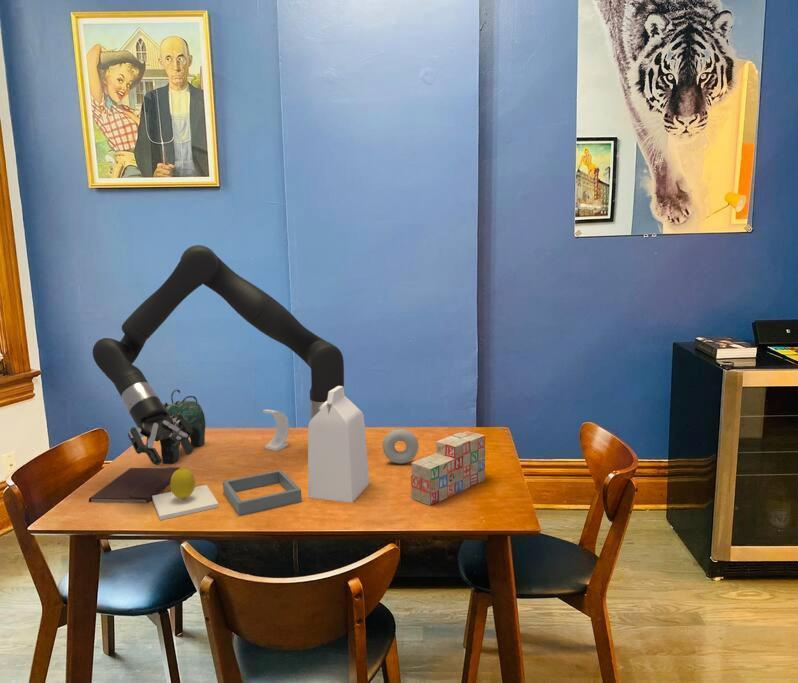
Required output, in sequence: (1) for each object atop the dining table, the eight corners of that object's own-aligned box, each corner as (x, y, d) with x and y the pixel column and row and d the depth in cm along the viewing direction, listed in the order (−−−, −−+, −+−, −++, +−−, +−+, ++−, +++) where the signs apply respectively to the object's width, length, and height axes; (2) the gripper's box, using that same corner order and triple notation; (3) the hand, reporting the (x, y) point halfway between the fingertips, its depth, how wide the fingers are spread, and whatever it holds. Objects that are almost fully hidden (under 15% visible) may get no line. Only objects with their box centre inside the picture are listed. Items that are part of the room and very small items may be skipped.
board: (206, 488, 155) (206, 484, 155) (218, 507, 144) (218, 503, 144) (152, 499, 149) (151, 495, 149) (160, 520, 138) (159, 516, 138)
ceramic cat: (172, 466, 171) (167, 397, 168) (152, 465, 173) (146, 396, 169) (210, 443, 190) (206, 380, 187) (192, 442, 192) (187, 380, 188)
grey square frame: (281, 480, 159) (281, 469, 159) (301, 501, 146) (301, 489, 146) (223, 492, 152) (222, 481, 152) (239, 515, 139) (238, 503, 139)
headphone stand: (265, 448, 184) (262, 410, 182) (278, 442, 190) (276, 405, 188) (276, 451, 182) (274, 412, 180) (290, 445, 187) (288, 407, 185)
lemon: (188, 505, 143) (185, 472, 142) (166, 503, 144) (164, 471, 143) (200, 495, 148) (198, 464, 147) (179, 494, 150) (177, 462, 148)
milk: (352, 502, 145) (349, 396, 141) (308, 497, 149) (303, 393, 144) (369, 483, 157) (366, 384, 152) (327, 478, 160) (324, 382, 156)
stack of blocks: (430, 506, 143) (430, 456, 141) (410, 499, 147) (410, 450, 145) (485, 480, 158) (485, 434, 156) (466, 474, 162) (466, 429, 160)
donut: (382, 465, 169) (381, 430, 167) (383, 461, 172) (382, 427, 170) (418, 465, 168) (418, 430, 167) (418, 461, 172) (418, 426, 170)
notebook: (88, 504, 148) (88, 496, 148) (129, 473, 168) (129, 466, 167) (148, 505, 147) (148, 497, 147) (183, 473, 167) (182, 467, 166)
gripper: (121, 402, 143) (153, 458, 138) (174, 389, 154) (206, 441, 150) (111, 420, 147) (142, 476, 142) (164, 407, 158) (194, 457, 154)
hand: (175, 458), depth 146 cm, fingers open, 8 cm apart
